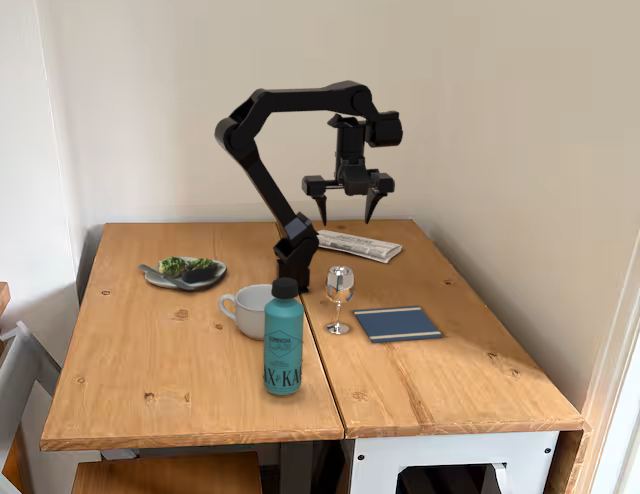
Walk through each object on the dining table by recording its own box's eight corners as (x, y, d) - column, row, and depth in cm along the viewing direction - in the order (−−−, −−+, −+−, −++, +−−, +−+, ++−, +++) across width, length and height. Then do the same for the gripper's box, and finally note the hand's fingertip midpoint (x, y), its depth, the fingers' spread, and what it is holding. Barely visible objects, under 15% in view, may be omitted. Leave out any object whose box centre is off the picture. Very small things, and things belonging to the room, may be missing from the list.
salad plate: (121, 286, 156) (119, 266, 154) (159, 258, 170) (158, 240, 168) (202, 299, 151) (201, 278, 148) (234, 269, 165) (234, 250, 163)
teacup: (298, 326, 140) (299, 288, 136) (280, 350, 131) (281, 310, 127) (232, 315, 144) (231, 278, 140) (211, 338, 135) (209, 299, 131)
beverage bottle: (261, 383, 121) (261, 273, 111) (300, 382, 122) (303, 272, 111) (264, 404, 116) (263, 289, 105) (304, 402, 116) (308, 288, 106)
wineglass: (350, 336, 137) (354, 277, 130) (320, 333, 138) (323, 275, 131) (353, 323, 141) (358, 266, 135) (325, 320, 142) (327, 263, 136)
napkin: (372, 343, 134) (372, 341, 134) (352, 311, 146) (352, 310, 146) (442, 337, 137) (443, 335, 136) (417, 307, 148) (418, 305, 148)
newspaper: (301, 247, 178) (301, 237, 177) (324, 238, 188) (325, 228, 186) (384, 264, 168) (385, 254, 167) (404, 254, 177) (405, 244, 176)
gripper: (313, 160, 136) (311, 239, 145) (407, 157, 139) (399, 234, 148) (302, 147, 146) (300, 222, 154) (389, 144, 149) (383, 218, 157)
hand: (345, 224), depth 153 cm, fingers open, 9 cm apart
